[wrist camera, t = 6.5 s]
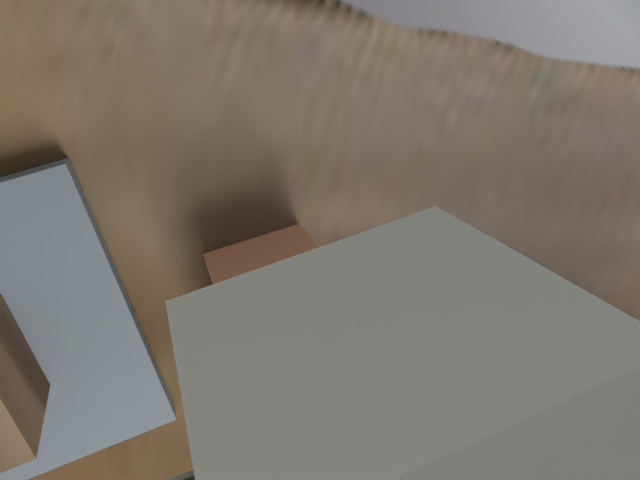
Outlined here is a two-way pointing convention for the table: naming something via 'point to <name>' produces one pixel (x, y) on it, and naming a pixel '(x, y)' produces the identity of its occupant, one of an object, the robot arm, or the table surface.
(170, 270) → the table surface
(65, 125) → the table surface
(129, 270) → the table surface
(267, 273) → the cream white cube
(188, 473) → the robot arm
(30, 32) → the table surface
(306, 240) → the brick terracotta
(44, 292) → the board
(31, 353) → the brick walnut
